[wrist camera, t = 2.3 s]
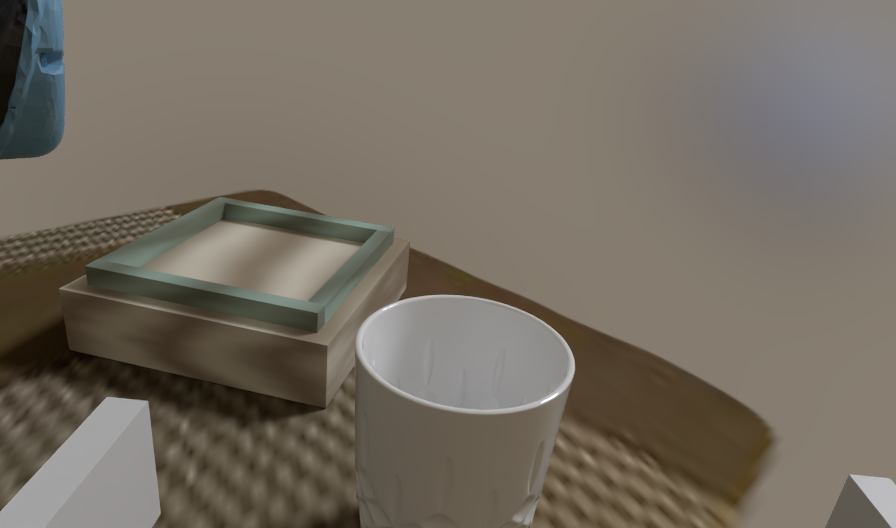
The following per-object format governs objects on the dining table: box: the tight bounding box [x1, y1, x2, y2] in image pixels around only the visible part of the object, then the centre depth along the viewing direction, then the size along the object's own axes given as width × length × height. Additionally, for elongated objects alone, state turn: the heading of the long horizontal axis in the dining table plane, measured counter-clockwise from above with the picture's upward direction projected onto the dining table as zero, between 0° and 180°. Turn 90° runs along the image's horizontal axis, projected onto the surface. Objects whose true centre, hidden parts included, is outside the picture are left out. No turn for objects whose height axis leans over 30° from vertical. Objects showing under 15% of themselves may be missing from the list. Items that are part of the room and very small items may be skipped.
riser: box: [59, 197, 410, 408], centre depth 41 cm, size 16×16×5 cm
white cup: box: [355, 295, 575, 528], centre depth 24 cm, size 8×8×10 cm
